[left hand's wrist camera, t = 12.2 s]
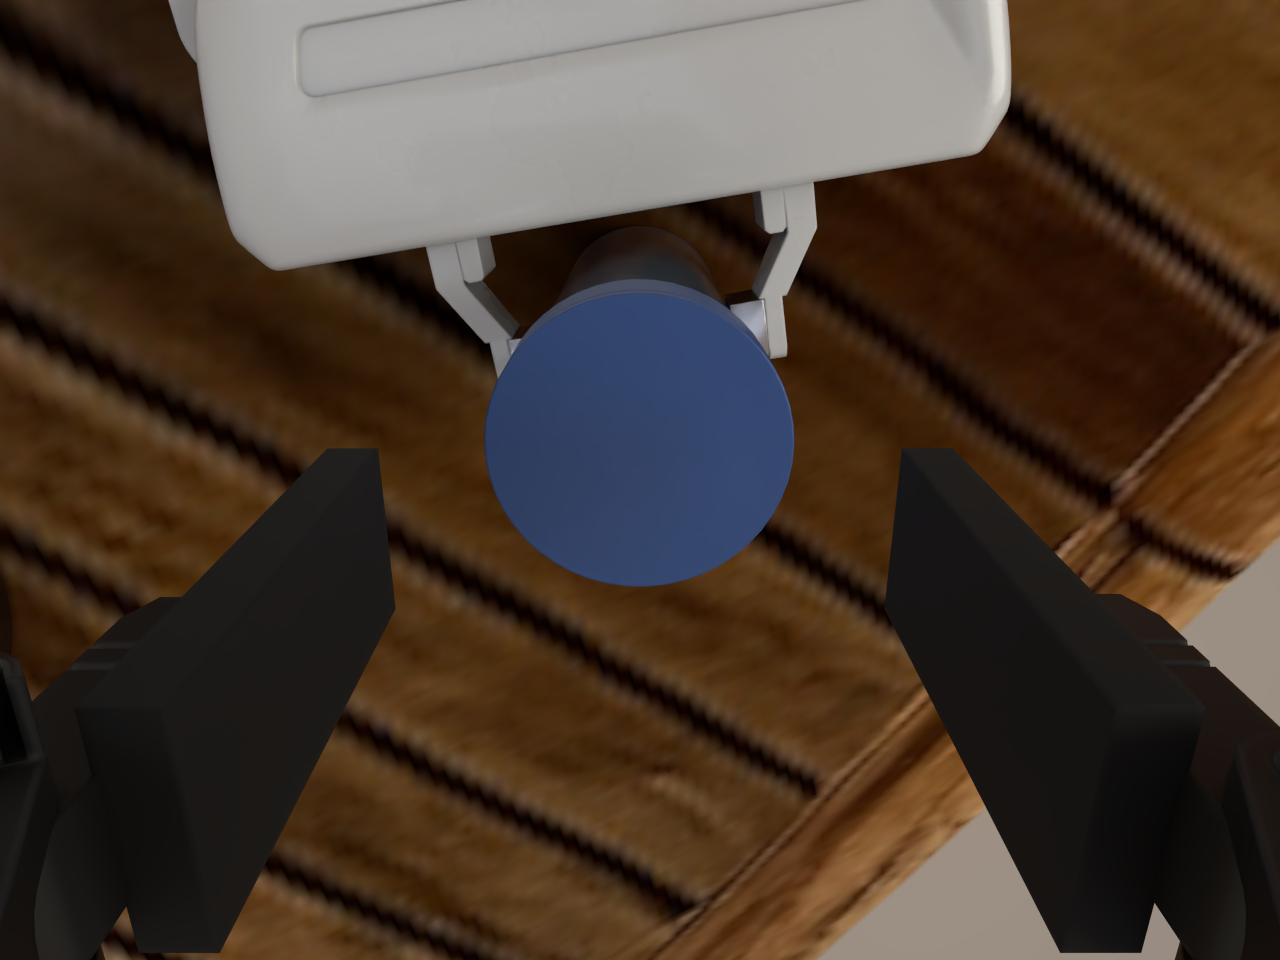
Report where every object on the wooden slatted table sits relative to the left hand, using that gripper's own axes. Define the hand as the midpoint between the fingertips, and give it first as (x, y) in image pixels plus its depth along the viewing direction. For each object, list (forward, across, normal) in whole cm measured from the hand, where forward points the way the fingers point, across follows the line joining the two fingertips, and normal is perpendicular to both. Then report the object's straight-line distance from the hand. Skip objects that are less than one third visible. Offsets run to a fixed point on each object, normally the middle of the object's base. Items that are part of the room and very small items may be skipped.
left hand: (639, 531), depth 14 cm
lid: (+4, 0, 0) cm, 4 cm away
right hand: (+13, 0, -1) cm, 13 cm away
